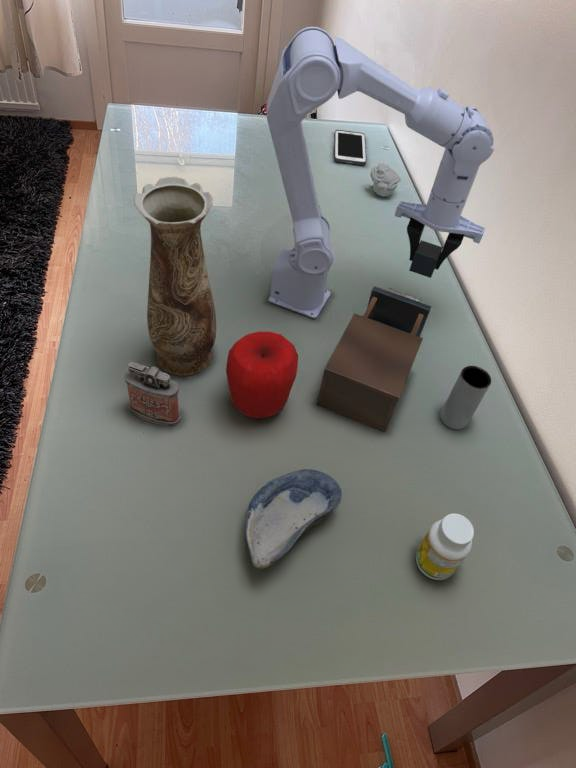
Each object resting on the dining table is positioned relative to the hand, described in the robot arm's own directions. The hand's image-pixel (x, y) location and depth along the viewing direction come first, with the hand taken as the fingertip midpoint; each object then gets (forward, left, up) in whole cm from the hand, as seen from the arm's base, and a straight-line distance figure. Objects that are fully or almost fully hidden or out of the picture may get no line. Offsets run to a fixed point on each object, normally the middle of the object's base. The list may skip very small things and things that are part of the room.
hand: (425, 261), depth 103 cm
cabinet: (-1, -23, -10) cm, 26 cm away
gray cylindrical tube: (+14, -22, -10) cm, 28 cm away
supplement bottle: (+17, -47, -10) cm, 51 cm away
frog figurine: (-16, +34, -11) cm, 39 cm away
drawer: (-1, -12, -9) cm, 15 cm away
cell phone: (-29, +49, -10) cm, 58 cm away
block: (0, 0, -1) cm, 1 cm away
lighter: (-28, -43, -10) cm, 53 cm away
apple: (-15, -34, -11) cm, 39 cm away
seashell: (-2, -51, -11) cm, 53 cm away
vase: (-30, -31, -10) cm, 45 cm away
